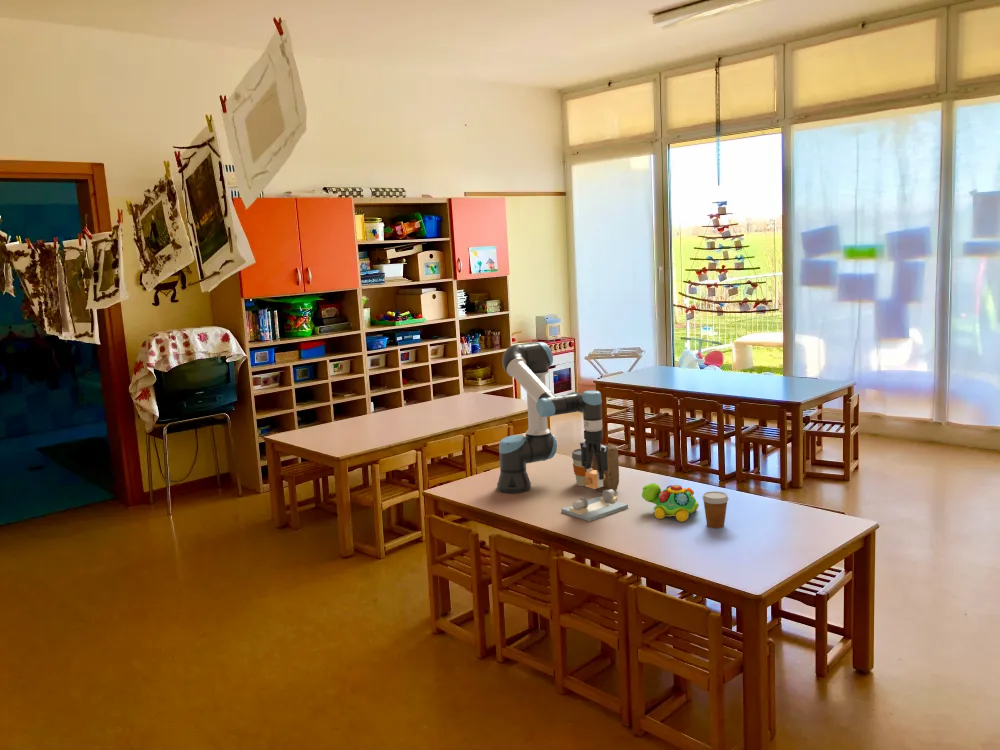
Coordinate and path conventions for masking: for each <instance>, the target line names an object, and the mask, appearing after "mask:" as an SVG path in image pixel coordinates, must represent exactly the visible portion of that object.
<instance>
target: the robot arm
mask: <svg viewBox="0 0 1000 750" xmlns="http://www.w3.org/2000/svg"><path fill="white" fill-rule="evenodd" d="M501 362H502V363H501V364H502V367H503V371H505V373H506V374H507V375H508V376H509V377H512V378H514V380H515V381H516V382H517V384H519V385H520V386H521V387H522V388H523V389H524V390H525V391H526V401H527V405H526V406H527V421H528V428H527V430H526V431H525V436H524V435H521V434H515V435H514V434H512V435H509V436H506V437H504V438H502V439H501V440H500V441H499V444H498V445H499V447H498V453H499V471H500V473H499V476H498V479H497V480H498V481H497V483H496V484H497V485H496V489H497V491H499V492H501V493H505V494H518V493H524V492H527V491H529V490H530V489H531V488H532V487H531V486H532V484H531V480H530V477H529V475H528V472H527V464H532V463H537V462H538V463H539V462H545V461H547V460H551V459H553V458H554V456H555V455H556V453H557V451H558V450H557V449H558V442H557V441H558V440H557V439H556V436H555V435H554V434H553V433H552V431H551V429H550V428H549V427H548V418H549V417H554V416H559V415H567V414H572V413H582V417H583V429H584V430H583V439H584V441H582V442H580V443H579V446H580V449H581V462H582V466H584V467H585V469H586V472H588V471H592V470H593V468H591V467H592V466H591V464H592V457H593V454H594V456H595V459H596V463H597V468H598V471H597V488H600V487H603V479H604V471H606V470H608V465H607V450H608V447H607V446H606V447H605V446H603V445H604V444H603V442H602V441H603V438H604V434H603V432H604V431H603V405H602V403H603V400H602V394H601V392H600V391H599V390H586V391H585V390H584V391H583V392H582V393H580V392H579V391H578V392H577V391H570V392H569V393H567V394H563V395H555V394H554V393H553V392H551V390H550V389H549V388H548V386H546V385H547V384H546V376H547V374H548V373H549V368H550V367H551V366H552V365H553V362H554V357H553V352H552V349H551V348H550V347H549V344H547V342H543V341H533V342H526V343H517V344H516V343H515V344H513V345H511V346H509V347H507V349H506V350H505V351H504V353H503V354H502V359H501ZM597 452H598V453H597ZM584 462H585V463H584Z"/></svg>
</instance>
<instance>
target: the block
mask: <svg viewBox="0 0 1000 750" xmlns="http://www.w3.org/2000/svg"><path fill="white" fill-rule="evenodd" d="M602 445H603V446H605V447H606V446H607V447H608V450H607V465H608V470H606V471H604V475H605V480H603V487H600V488H596V489H595V490H598V491H600V492H601V493H602V492H603V491H604V490H610V489H613V490H614V492H616V491H617V490H618V487H619V483H620V466H619V465H620V464H619V462H620V461H619V451H618V448H617V446H614V445H611V444H606V443H603V444H602ZM597 453H598V452H597ZM593 469H594V470H597V471H598V468H597V463H596V459H595V456H594V454H593Z"/></svg>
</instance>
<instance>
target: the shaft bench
mask: <svg viewBox="0 0 1000 750" xmlns="http://www.w3.org/2000/svg"><path fill="white" fill-rule="evenodd" d="M615 492H616V491H615ZM615 492H614V490H613V489H610V490H604V491H603V492H602V491H601V496H600V495H599V496H595V497H592V498H589V499H587V498H586V497H584V496H583V497H580V498H579V500H578V501H574V502H573V503H572V504H571V505H568V506H566V507H562V508H561V512H562V514H566V515H570V516H572V517H574V518H579V519H581V520H583V521H586V520H587V522H589V521H590V522H592V521H595V520H598V519H601V518H603V517H607V516H609V514H610V515H613V514H615V513H618V512H621V511H624V510H626V508H627V509H629V505H628V504H627V503H624V502H620V501H618V496H615V495H616V493H615ZM623 509H624V510H623ZM620 510H621V511H620ZM612 513H613V514H612Z"/></svg>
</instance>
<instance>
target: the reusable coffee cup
mask: <svg viewBox="0 0 1000 750" xmlns="http://www.w3.org/2000/svg"><path fill="white" fill-rule="evenodd" d="M571 455H572V456H571V459H572V461H573V462H572V466H573V467H572V469H573V474H574V475H575V479H576V480H575V481H576V485H577V486H578V485H579V486H578V487H583V486H585V488H587V487H586V485H585V484H584V483H583V480H584V479H585V478H586V476H585V472H586V469H585V467H584V466H582V462H581V448H577V449H573V451H572V454H571ZM584 463H585V462H584ZM591 466H592V467H591V468H593V457H592V464H591ZM593 470H594V469H593Z"/></svg>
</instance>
